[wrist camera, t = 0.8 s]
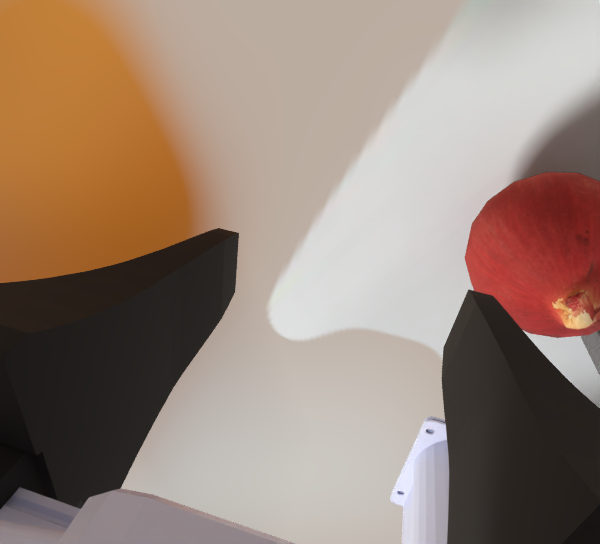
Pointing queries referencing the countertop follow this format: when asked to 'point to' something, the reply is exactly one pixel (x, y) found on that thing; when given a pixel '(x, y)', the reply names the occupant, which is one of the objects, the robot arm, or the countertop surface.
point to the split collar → (593, 347)
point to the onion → (541, 253)
